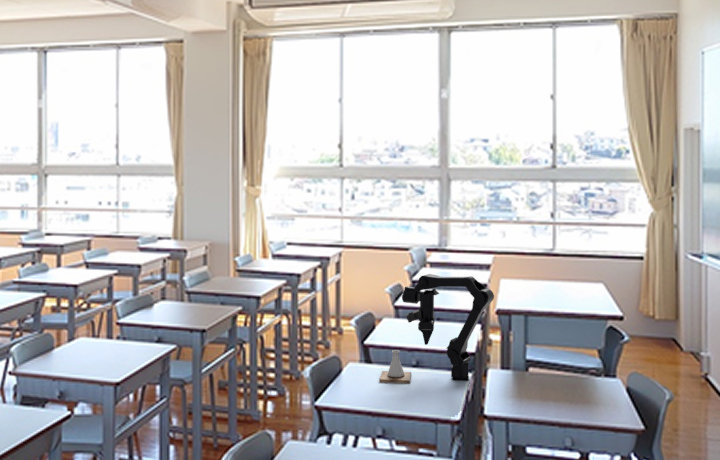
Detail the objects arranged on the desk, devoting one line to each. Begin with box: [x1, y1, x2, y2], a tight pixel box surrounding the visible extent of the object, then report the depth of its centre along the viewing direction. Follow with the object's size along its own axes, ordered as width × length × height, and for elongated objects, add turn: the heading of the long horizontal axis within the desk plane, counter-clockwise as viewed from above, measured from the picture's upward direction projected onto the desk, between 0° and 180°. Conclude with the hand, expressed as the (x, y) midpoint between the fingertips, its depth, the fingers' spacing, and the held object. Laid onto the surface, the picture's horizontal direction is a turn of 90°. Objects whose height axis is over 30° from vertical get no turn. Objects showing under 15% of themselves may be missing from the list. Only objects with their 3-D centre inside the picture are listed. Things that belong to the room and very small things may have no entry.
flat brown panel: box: [379, 370, 412, 384], centre depth 263 cm, size 12×12×2 cm
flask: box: [387, 349, 405, 377], centre depth 263 cm, size 7×7×10 cm
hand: (426, 341), depth 270 cm, fingers open, 9 cm apart
